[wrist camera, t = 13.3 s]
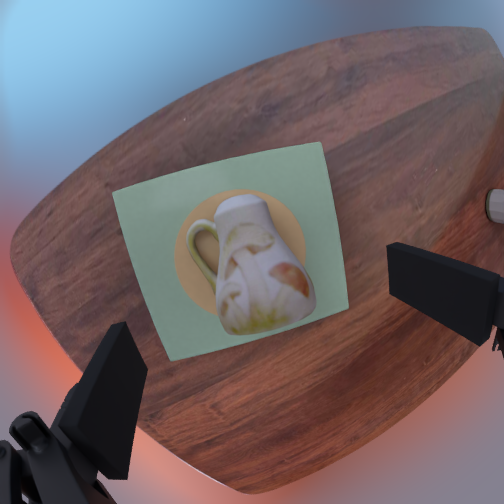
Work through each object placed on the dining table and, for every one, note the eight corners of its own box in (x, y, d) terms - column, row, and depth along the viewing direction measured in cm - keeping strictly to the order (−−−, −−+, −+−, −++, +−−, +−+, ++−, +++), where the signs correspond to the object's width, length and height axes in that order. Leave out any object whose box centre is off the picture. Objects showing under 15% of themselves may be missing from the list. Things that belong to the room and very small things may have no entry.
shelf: (132, 192, 26) (110, 192, 19) (295, 152, 29) (322, 141, 22) (175, 328, 30) (170, 363, 23) (321, 286, 32) (350, 309, 25)
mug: (270, 175, 22) (356, 242, 15) (263, 266, 28) (321, 341, 21) (178, 191, 19) (232, 282, 12) (191, 288, 25) (235, 379, 18)
